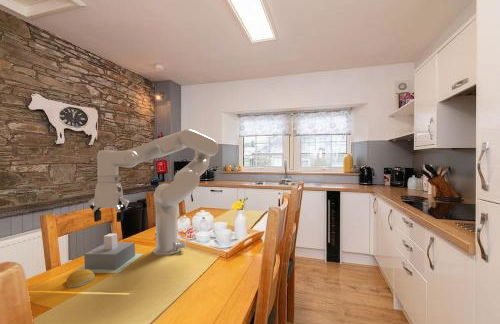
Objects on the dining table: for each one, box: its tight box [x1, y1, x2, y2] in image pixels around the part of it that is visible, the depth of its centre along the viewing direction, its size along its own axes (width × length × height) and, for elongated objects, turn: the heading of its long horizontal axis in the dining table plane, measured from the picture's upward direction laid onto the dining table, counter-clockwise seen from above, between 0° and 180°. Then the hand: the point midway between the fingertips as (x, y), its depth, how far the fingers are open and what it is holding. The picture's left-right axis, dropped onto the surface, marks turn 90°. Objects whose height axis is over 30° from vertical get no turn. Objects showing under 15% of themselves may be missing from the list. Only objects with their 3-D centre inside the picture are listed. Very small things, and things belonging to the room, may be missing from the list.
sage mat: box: [75, 253, 144, 274], centre depth 99 cm, size 18×18×1 cm
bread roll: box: [65, 269, 96, 288], centre depth 84 cm, size 8×9×4 cm
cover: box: [83, 233, 136, 270], centre depth 99 cm, size 13×13×12 cm
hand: (108, 221), depth 99 cm, fingers open, 9 cm apart
